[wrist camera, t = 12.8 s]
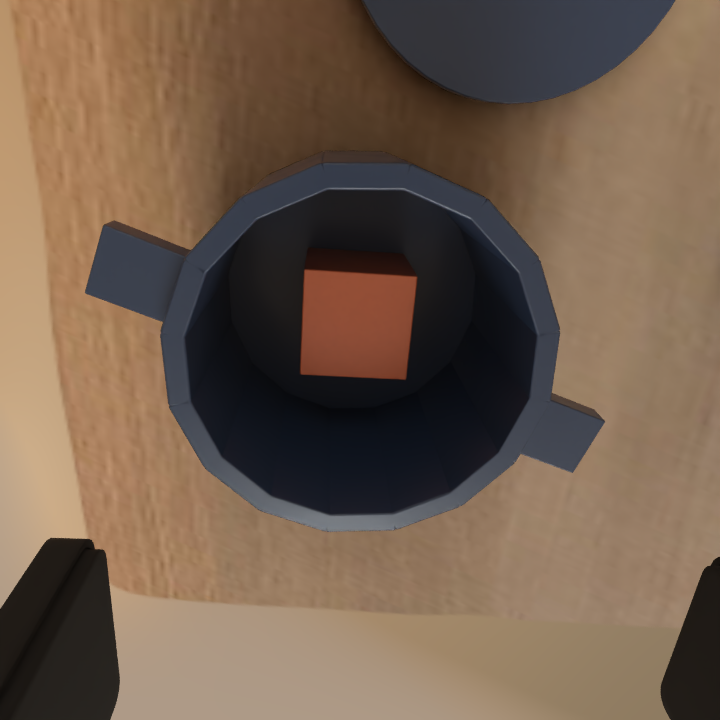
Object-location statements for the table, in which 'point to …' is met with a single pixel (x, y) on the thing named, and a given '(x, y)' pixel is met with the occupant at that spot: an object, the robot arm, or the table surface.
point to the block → (357, 314)
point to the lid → (514, 42)
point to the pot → (353, 394)
